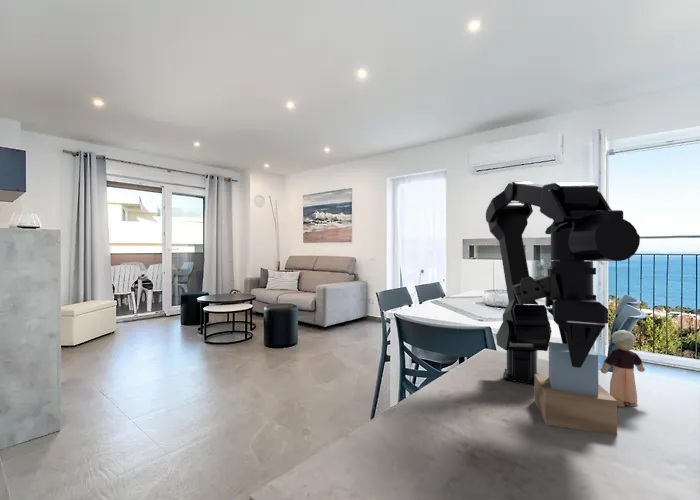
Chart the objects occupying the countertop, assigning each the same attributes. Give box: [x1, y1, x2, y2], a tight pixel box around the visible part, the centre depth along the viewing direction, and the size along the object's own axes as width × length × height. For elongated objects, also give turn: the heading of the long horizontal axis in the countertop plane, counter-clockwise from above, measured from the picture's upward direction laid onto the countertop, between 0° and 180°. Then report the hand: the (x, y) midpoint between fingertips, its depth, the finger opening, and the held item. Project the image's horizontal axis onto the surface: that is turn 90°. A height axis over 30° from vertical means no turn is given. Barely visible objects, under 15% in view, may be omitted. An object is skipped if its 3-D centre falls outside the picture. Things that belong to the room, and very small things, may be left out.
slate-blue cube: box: [548, 341, 599, 396], centre depth 55 cm, size 6×6×6 cm
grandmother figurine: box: [600, 329, 646, 407], centre depth 60 cm, size 8×4×13 cm, turn 105°
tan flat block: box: [534, 373, 618, 435], centre depth 55 cm, size 9×9×5 cm
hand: (571, 359), depth 55 cm, fingers open, 9 cm apart
